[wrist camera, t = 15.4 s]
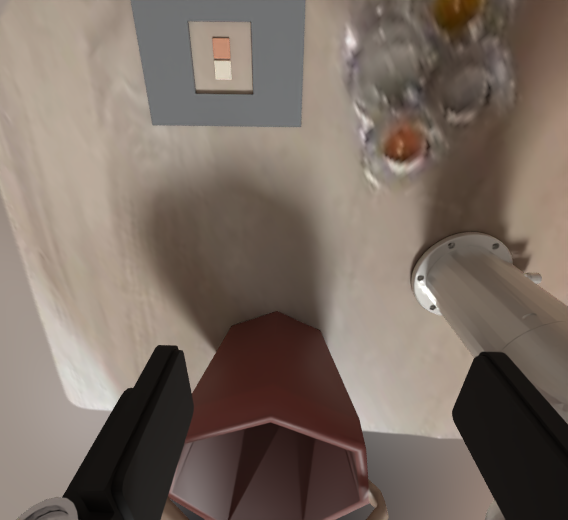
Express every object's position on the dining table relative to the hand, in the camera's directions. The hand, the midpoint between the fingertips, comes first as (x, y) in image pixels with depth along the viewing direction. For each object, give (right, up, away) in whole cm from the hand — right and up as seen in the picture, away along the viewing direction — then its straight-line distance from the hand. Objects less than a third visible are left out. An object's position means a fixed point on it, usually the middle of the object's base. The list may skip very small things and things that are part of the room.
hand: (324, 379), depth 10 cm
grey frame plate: (-7, +24, +20) cm, 32 cm away
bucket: (-3, -12, +38) cm, 40 cm away
